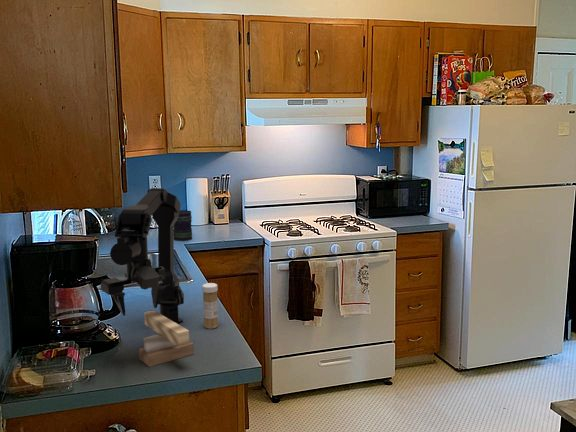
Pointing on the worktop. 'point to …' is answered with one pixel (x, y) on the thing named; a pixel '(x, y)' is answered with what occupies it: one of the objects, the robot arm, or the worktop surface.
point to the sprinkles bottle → (210, 305)
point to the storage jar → (183, 226)
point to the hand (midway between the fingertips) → (139, 311)
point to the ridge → (162, 350)
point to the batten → (167, 328)
